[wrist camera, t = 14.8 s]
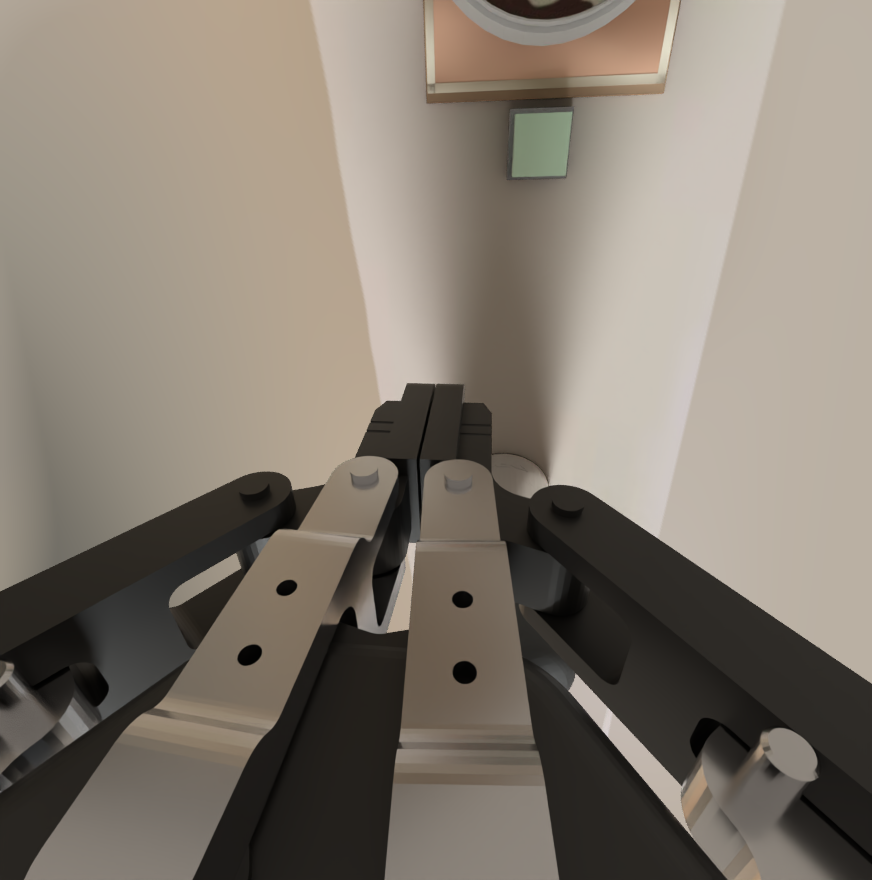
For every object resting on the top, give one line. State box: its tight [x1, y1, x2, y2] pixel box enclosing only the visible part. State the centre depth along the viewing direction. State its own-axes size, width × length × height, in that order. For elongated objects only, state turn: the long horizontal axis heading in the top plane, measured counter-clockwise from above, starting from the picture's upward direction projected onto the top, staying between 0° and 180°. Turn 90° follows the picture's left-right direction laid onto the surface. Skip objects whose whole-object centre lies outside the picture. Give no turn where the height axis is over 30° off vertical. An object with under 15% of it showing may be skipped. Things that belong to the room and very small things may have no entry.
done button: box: [512, 112, 572, 177], centre depth 31 cm, size 3×3×2 cm
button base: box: [507, 107, 574, 180], centre depth 32 cm, size 4×4×1 cm
